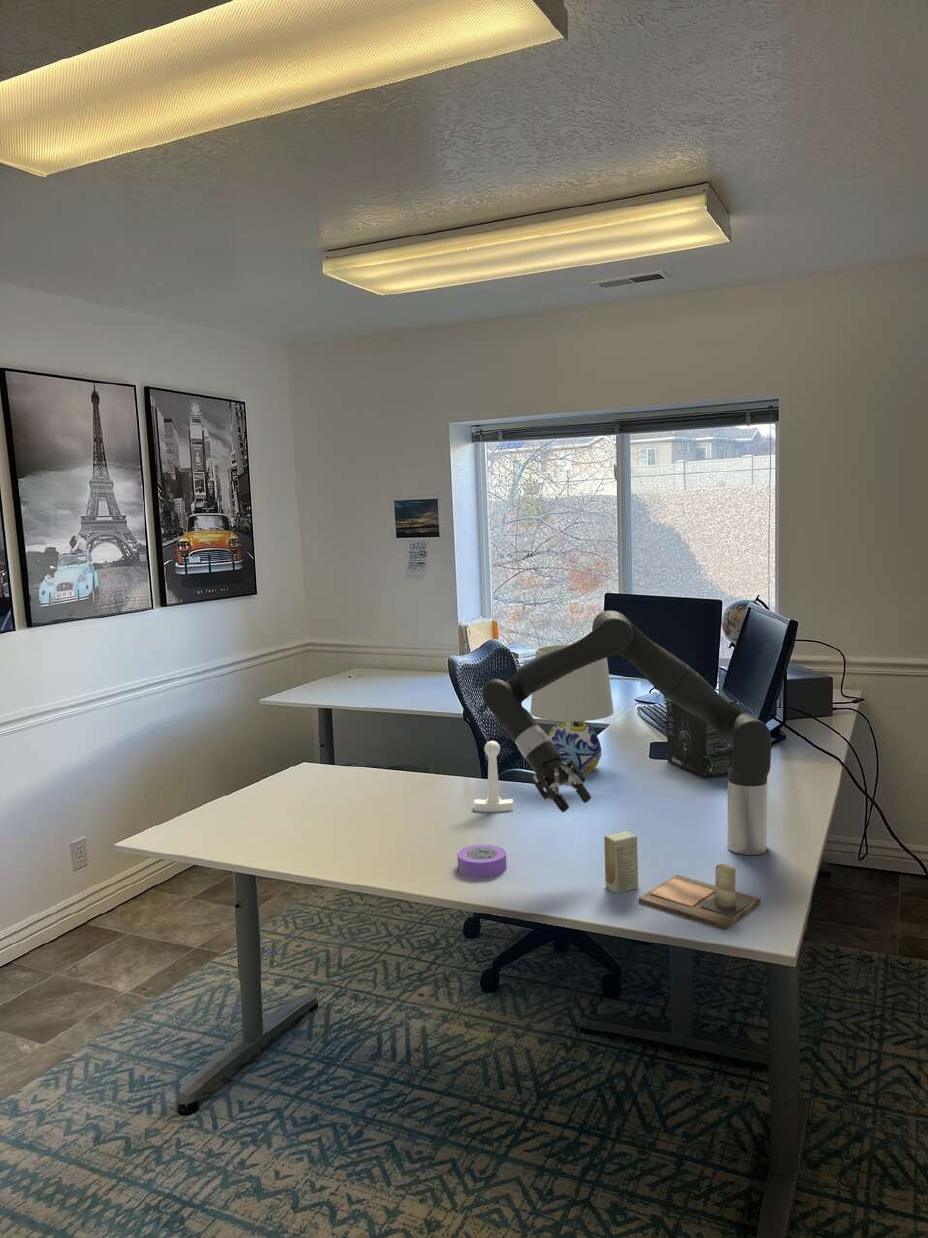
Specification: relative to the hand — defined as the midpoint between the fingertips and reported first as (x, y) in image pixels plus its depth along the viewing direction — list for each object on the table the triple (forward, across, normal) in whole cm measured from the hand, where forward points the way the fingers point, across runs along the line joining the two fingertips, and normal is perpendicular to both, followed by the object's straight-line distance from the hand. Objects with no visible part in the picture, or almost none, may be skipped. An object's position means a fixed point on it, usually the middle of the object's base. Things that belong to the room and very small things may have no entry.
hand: (577, 805), depth 204 cm
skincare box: (+20, 0, +4) cm, 21 cm away
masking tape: (-2, -11, +26) cm, 29 cm away
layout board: (+32, +4, -9) cm, 33 cm away
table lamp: (-25, +69, +49) cm, 88 cm away
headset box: (-2, +95, +26) cm, 99 cm away
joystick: (-22, +24, +45) cm, 56 cm away
